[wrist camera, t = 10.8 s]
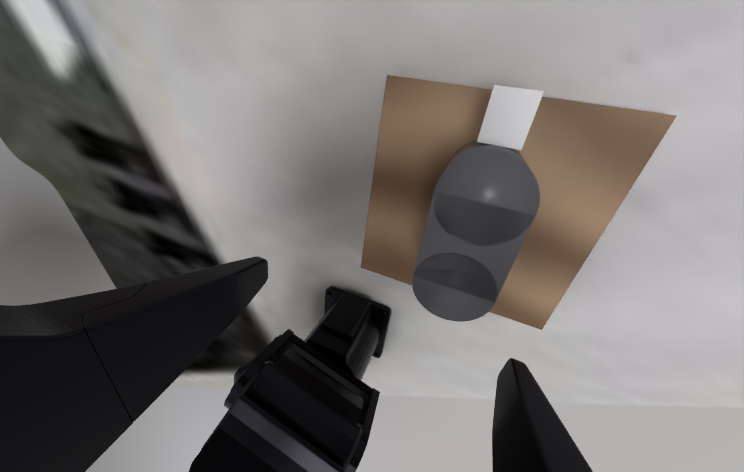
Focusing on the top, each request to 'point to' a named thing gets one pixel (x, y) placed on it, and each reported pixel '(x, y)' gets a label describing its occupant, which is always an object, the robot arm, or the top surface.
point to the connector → (480, 213)
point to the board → (543, 156)
